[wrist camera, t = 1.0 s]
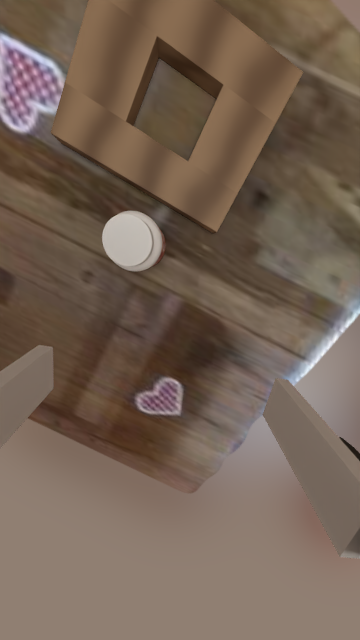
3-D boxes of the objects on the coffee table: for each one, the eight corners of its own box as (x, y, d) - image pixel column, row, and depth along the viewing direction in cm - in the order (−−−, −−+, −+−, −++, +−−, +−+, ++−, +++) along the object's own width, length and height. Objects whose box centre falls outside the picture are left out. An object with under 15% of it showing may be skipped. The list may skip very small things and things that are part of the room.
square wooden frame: (62, 143, 26) (50, 132, 24) (118, -45, 21) (111, -82, 19) (213, 233, 30) (216, 231, 27) (290, 89, 25) (303, 72, 22)
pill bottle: (174, 251, 30) (173, 251, 20) (139, 275, 31) (121, 287, 21) (149, 211, 29) (133, 188, 18) (113, 238, 30) (79, 230, 19)
